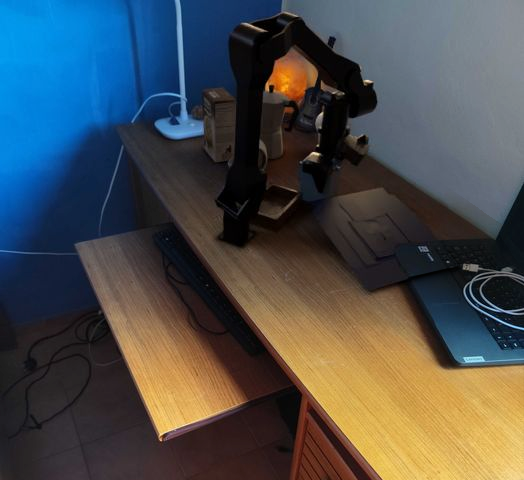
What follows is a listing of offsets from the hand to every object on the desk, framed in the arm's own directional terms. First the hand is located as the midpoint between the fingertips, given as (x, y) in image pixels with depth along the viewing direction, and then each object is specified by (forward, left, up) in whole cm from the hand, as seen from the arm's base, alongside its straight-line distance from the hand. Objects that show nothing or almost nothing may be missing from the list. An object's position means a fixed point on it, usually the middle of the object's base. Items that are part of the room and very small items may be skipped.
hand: (325, 187), depth 115 cm
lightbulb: (+27, +12, -4) cm, 29 cm away
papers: (-10, -18, -4) cm, 21 cm away
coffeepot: (+17, +24, -4) cm, 29 cm away
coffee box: (+8, +36, -4) cm, 37 cm away
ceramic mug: (+5, +25, -4) cm, 25 cm away
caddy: (-11, +9, -4) cm, 15 cm away
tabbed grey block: (0, +2, -4) cm, 4 cm away
